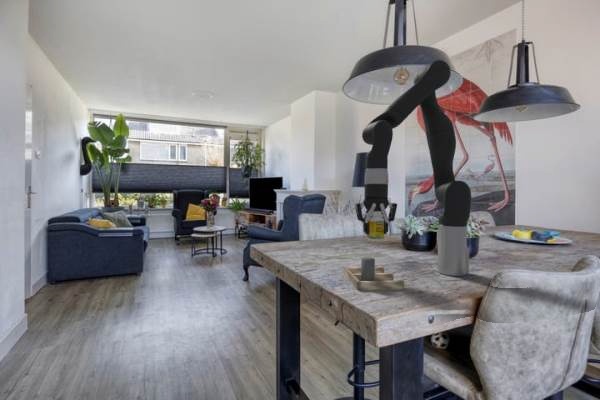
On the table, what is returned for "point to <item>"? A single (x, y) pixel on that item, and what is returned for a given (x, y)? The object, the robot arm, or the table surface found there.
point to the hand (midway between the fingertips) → (375, 233)
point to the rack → (380, 283)
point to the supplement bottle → (376, 227)
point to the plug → (367, 269)
